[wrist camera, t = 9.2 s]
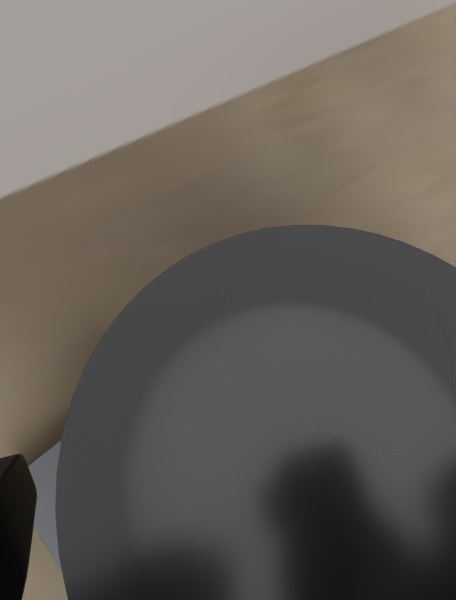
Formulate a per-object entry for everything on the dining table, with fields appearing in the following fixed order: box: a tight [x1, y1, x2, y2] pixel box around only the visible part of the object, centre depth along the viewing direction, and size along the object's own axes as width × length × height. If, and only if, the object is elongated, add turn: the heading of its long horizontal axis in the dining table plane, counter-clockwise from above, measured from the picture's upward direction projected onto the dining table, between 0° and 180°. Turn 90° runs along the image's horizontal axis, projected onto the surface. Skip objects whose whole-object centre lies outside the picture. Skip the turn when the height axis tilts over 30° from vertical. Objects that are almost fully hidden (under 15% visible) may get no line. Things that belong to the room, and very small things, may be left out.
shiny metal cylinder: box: [55, 225, 456, 600], centre depth 9 cm, size 4×4×13 cm
